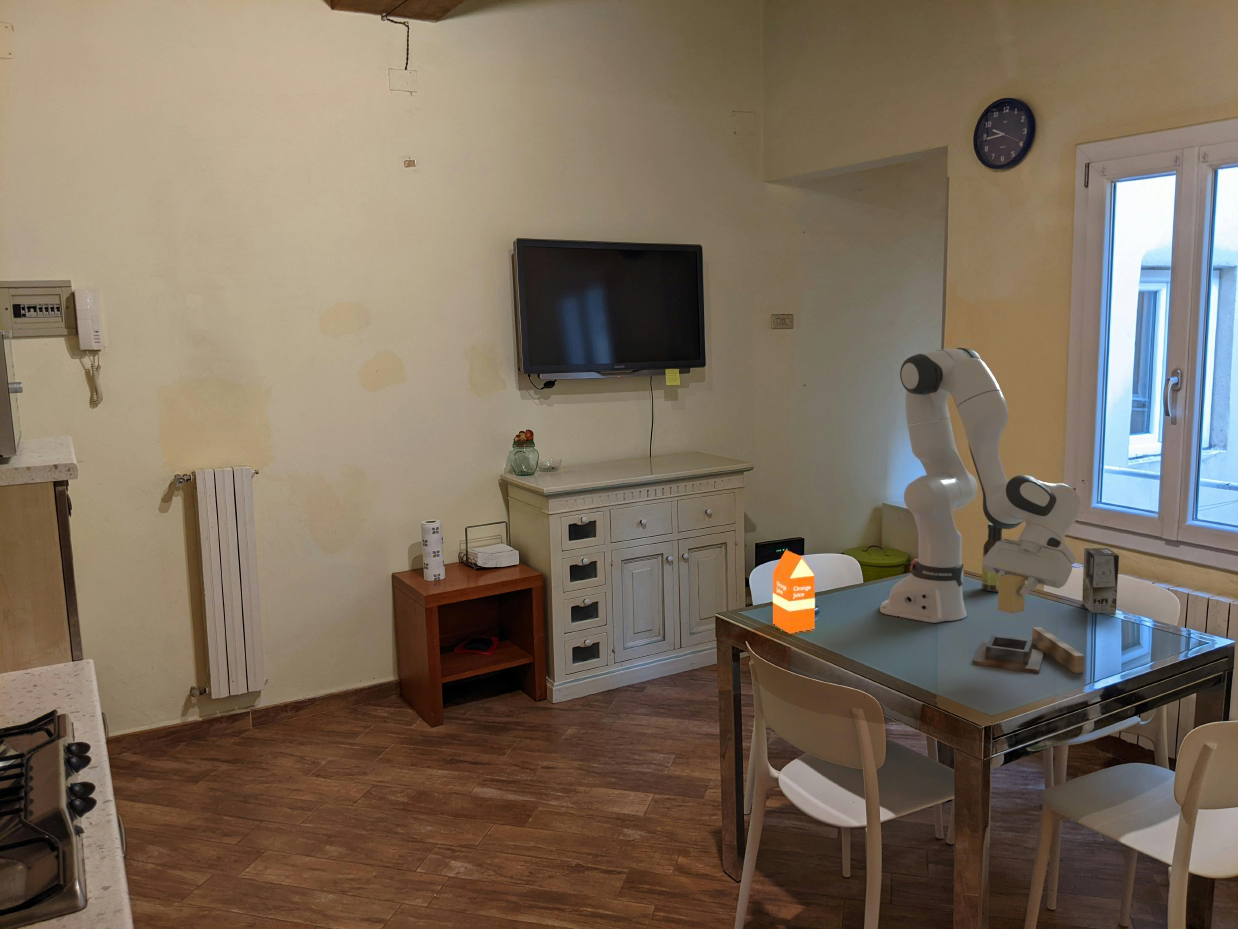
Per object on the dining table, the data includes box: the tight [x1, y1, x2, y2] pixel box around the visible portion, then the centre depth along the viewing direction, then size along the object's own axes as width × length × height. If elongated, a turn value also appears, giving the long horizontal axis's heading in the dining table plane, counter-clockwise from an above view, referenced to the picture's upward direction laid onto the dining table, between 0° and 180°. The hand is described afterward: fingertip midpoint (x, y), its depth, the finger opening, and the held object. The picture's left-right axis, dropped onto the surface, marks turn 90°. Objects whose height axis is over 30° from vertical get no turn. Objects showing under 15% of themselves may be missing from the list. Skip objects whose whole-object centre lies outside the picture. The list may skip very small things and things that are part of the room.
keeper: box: [972, 634, 1045, 674], centre depth 213 cm, size 14×14×4 cm
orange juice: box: [772, 549, 816, 634], centre depth 239 cm, size 8×9×20 cm
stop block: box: [997, 574, 1026, 615], centre depth 211 cm, size 4×4×8 cm
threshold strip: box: [1031, 626, 1085, 674], centre depth 213 cm, size 20×2×4 cm, turn 1°
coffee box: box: [1081, 547, 1120, 615], centre depth 248 cm, size 9×6×16 cm
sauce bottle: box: [981, 522, 1003, 593], centre depth 268 cm, size 6×6×20 cm
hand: (1009, 592), depth 210 cm, fingers closed on stop block, 4 cm apart
